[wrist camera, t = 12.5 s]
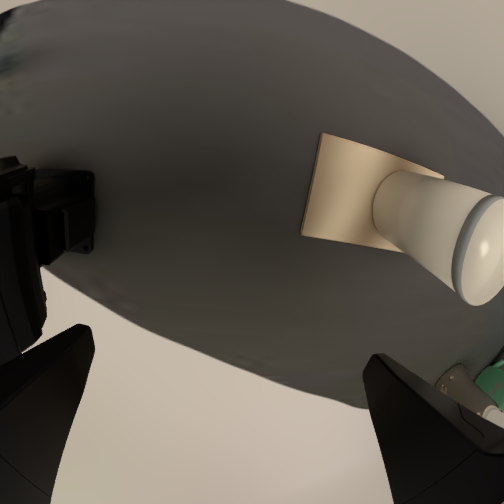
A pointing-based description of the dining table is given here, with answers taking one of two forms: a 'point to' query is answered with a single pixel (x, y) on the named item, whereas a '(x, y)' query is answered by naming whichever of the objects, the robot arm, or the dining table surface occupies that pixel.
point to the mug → (493, 382)
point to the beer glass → (470, 394)
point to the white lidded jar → (445, 231)
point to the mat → (350, 191)
